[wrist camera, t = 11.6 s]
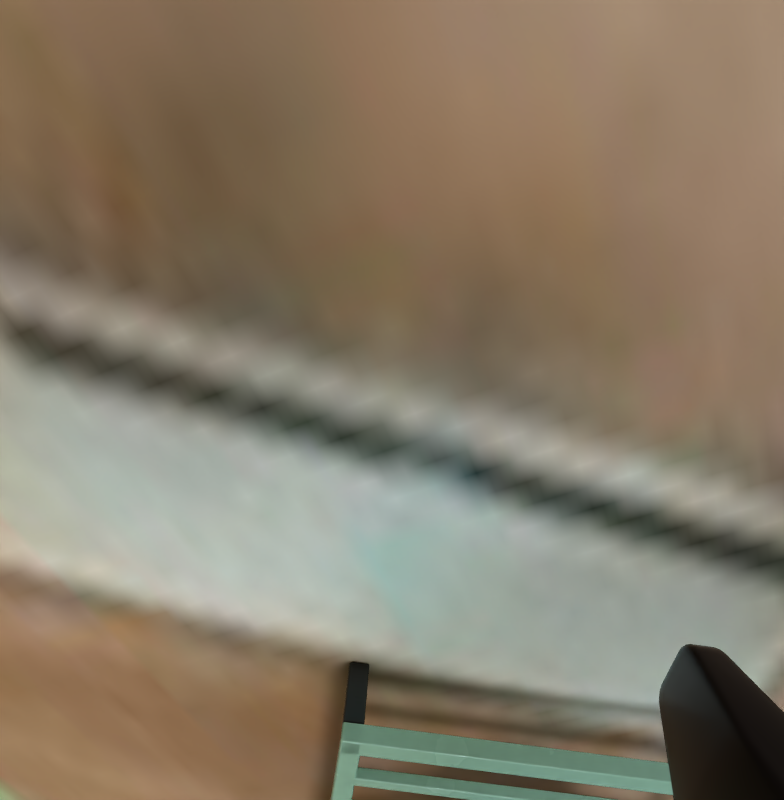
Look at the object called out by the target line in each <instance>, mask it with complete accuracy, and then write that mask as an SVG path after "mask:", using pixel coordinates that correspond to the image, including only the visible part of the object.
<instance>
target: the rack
mask: <svg viewBox="0 0 784 800" xmlns="http://www.w3.org/2000/svg"><path fill="white" fill-rule="evenodd" d="M368 674H369V665H368V664H360V663H353V662H351V663H350V666H349V672H348V680H347V689H346V697H345V706H344V714H343V723H342V732H341V738H340V745H339V751H338V757H337V763H336V769H335V775H334V781H333V787H332V793H331V799H330V800H352V795H353V790H354V786H362V787H370V788H378V789H387V790H395V791H403V792H411V793H419V794H427V795H435V796H443V797H451V798H459V799H467V800H616V799H608V798H600V797H592V796H584V795H576V794H568V793H561V792H553V791H545V790H537V789H529V788H521V787H513V786H505V785H497V784H489V783H481V782H473V781H465V780H457V779H449V778H441V777H433V776H425V775H417V774H409V773H401V772H393V771H385V770H377V769H369V768H361V767H358V764H359V759H360V756H366V757H374V758H382V759H390V760H398V761H406V762H414V763H422V764H430V765H438V766H446V767H454V768H462V769H470V770H478V771H486V772H494V773H502V774H510V775H517V776H525V777H533V778H541V779H549V780H557V781H565V782H573V783H581V784H589V785H597V786H605V787H613V788H621V789H629V790H637V791H645V792H653V793H661V794H669V795H673V791H672V785H671V778H670V772H669V765H668V763H663V762H655V761H647V760H639V759H631V758H623V757H616V756H608V755H600V754H592V753H584V752H576V751H568V750H561V749H553V748H545V747H537V746H529V745H521V744H513V743H506V742H498V741H490V740H482V739H474V738H466V737H458V736H451V735H443V734H435V733H427V732H419V731H411V730H403V729H396V728H388V727H380V726H372V725H364V720H365V709H366V697H367V686H368Z"/></svg>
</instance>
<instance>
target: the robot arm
mask: <svg viewBox="0 0 784 800" xmlns="http://www.w3.org/2000/svg"><path fill="white" fill-rule="evenodd" d="M659 705H660V713H661V719H662V726H663V732H664V739H665V745H666V752H667V758H668V765H669V772H670V778H671V785H672V791H673V798H674V800H784V712H783V711H782V710H781V709H780V708H779V707H778V706H777V705H776V704H775V703H774V702H773V701H772V700H771V699H770V698H769V697H768V696H767V695H766V694H765V693H764V692H763V691H762V690H761V689H760V688H759V687H758V686H757V685H756V684H755V683H754V682H753V681H752V680H751V679H750V678H749V677H748V676H747V675H746V674H745V673H744V672H743V671H742V670H741V669H740V668H739V667H738V666H737V665H736V664H735V663H734V662H733V661H732V660H731V659H730V658H729V657H728V656H727V655H726V654H725V653H724V652H723V651H721V650H720V649H717V648H715V647H708V646H701V645H693V644H687V645H685V646H683V647H682V648H681V649H680V651H679V652H678V654H677V656H676V658H675V660H674V662H673V664H672V666H671V668H670V669H669V671H668V673H667V675H666V677H665V679H664V681H663V683H662V685H661V689H660V694H659Z"/></svg>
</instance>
